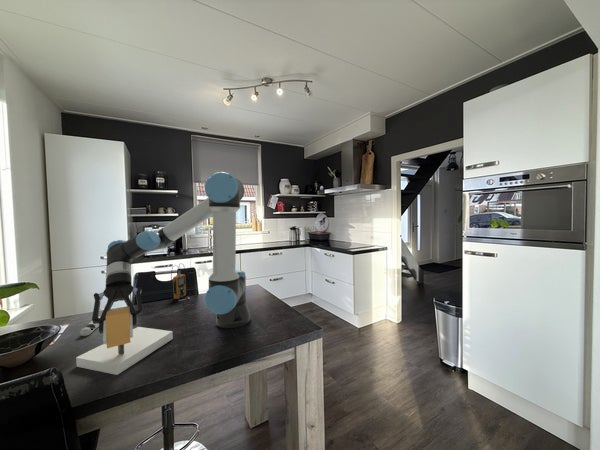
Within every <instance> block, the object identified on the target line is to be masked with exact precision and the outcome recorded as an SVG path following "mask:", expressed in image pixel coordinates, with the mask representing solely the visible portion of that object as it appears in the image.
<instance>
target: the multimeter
mask: <svg viewBox="0 0 600 450" xmlns="http://www.w3.org/2000/svg"><path fill="white" fill-rule="evenodd" d="M180 265H181V263H179V264H178V265H176V264H175V265H174V266H172V269H171V272H170V273H171V275H170V280H171V281H170V282H171V283H170V284H171V286H172V290H173V291H171V296H172V298H173V299H172V302H175V303H177V302H182V301H184V300H186V298H187V299H189V300H190V297H189V296H191V295H192V293H190V292H188V291H187V279H186V278H187V277H186V273H185V268H186V267H185V265H184V264H182V266H183V269H184V270H183V273H184V274H183V273H182V274H181V272H180V270H181V267H180ZM174 267H177V269H178V271H177V275H176V276H173V277H172V275H173V269H174ZM187 294H189V295H187ZM185 296H186V298H185V299H184V298H183V297H185ZM180 298H183V299H180Z"/></svg>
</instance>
